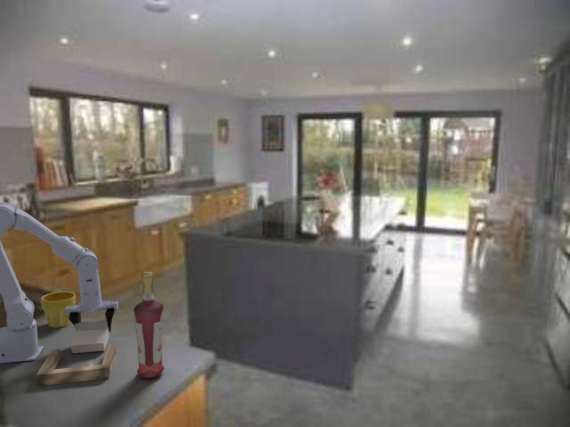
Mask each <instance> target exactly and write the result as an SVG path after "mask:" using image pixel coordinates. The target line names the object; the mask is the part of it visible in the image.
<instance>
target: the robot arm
mask: <svg viewBox="0 0 570 427" xmlns="http://www.w3.org/2000/svg"><path fill="white" fill-rule="evenodd" d="M12 226H14V227H13V230H15V231H17V230H18V231H27V232H29V233H30V234H32V235H33V236H35V237H37V238H38V239H40V240H41V241H43V242H45V243H47V244H48V245H50V246H51V251H52V253H53V254H54V255H56V256H58V257H60V258H62V260H64V261H66V262H67V263H68V264H70V265H74V266H75V268H76V271H77V272H78V288H79V296H80V303H78V304H75V305H73V306H67V307H66V309H65V311H66V315H69V317H68V318H69V320H70V321H71V322H70V323H72V326H74V327H75V324H77V323H79V322H82V313H93V312H96V311H98V312H99V311H105V312H104V315H105V321H106V320H107V323H108V328H109V333H111V331H112V322H113V318H114V315H115V312H116V310H118V309H119V301H118V300H115V301H112V300H102V299H103V298H102V292H101V289H102V288H101V282H100V274H99V262H98V258H97V255H96V254H95V253H94V252H93V251H92V250H90V249H89V248H87V247H85V248H84V247H83V246H81V245H80V244H79V243H77V242H76V241H75V240H76V239H75V238H74V237H72V236H70V237H68V236H67V235H63V236H61V235H60V236H59V235H58V234H56V233H55V232H54V231H52V230H51V229H49V228H48V227H47V226H46V225H44V224H43V223H41V221H38V220H37V219H36V218H35V217H33V216H32V215H30V214H29V213H28V212H26V211H24V210H23V209H20V208H19V207H17V208H16V206H15V205H14V204H12V203H10V202H5V201H2V202H0V239H1V238H2V237H3V236H4V234H5V232H6V231H8V230H9V229H10V228H11V227H12ZM0 295H1V298H2V300H3V305H4V310H5V312H6V326H3V327H0V364H5V363H8V364H9V363H16V362H19V363H20V362H28V361H35V360H37V358H38V357H39V355H40V354H41V353H42V351H43V349H44V346H43V345H41V346H39V338H38V326H37V325H38V324H37V320H36V319H34V312H35V310H36V308H35V304H34V302H33V301H32V300H31V299H29V298H28V297H27V295H26V293H25V292H24V291H23V290H22V287H21V285H20V283H19V280H18V278H17V275H16V273H15V271H14V269H13V267H12V265H11V262H10V261H9V258H8V256H7V253H6V251H5V249H4V246H3V244H2V241H1V240H0Z"/></svg>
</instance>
